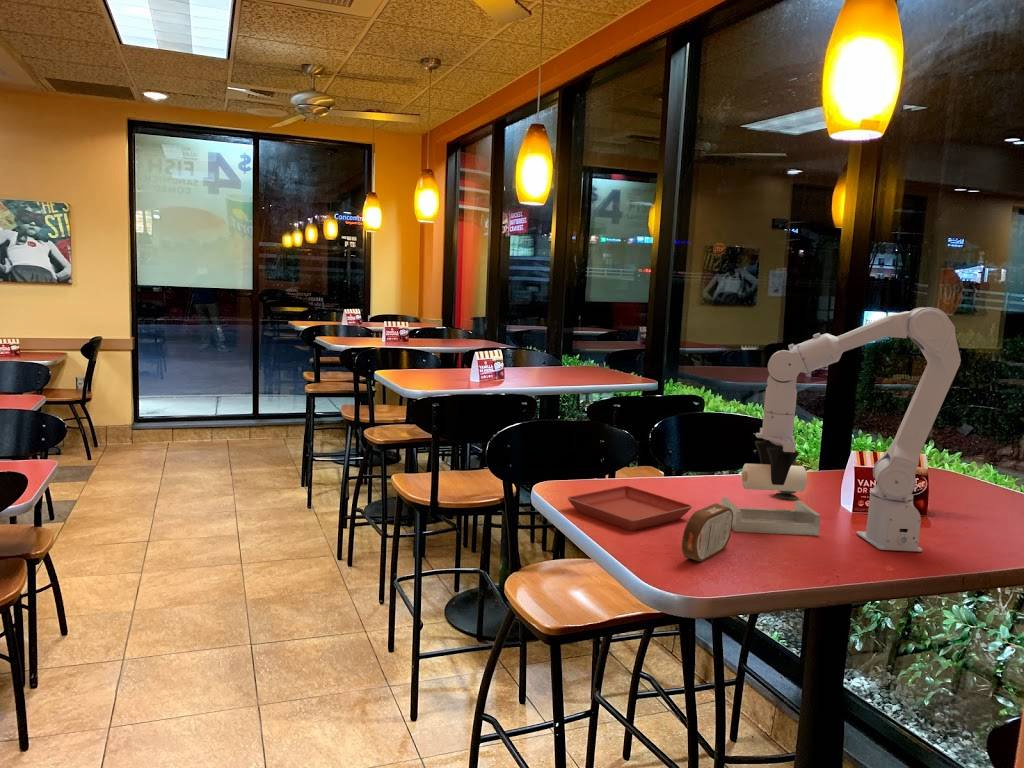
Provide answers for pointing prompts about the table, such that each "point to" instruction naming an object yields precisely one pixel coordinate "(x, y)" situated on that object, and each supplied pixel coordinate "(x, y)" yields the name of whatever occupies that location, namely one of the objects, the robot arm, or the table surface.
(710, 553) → the tin
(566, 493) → the table surface
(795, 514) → the cradle
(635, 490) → the plant saucer
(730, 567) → the table surface
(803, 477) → the roll
